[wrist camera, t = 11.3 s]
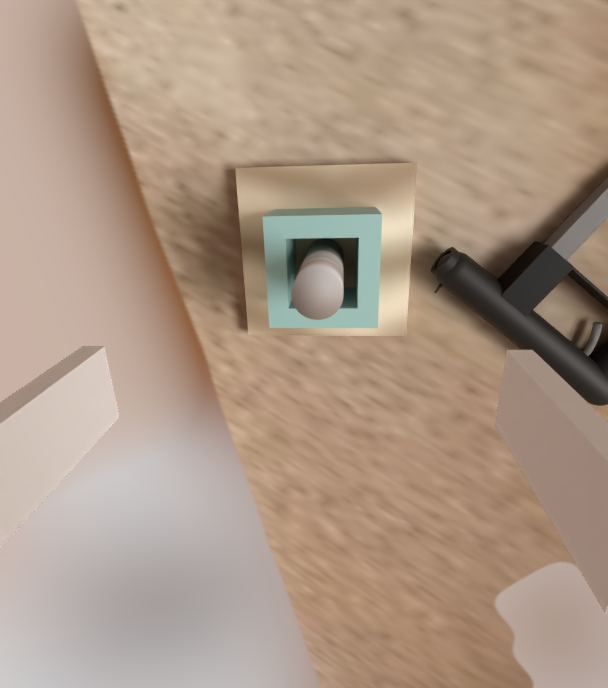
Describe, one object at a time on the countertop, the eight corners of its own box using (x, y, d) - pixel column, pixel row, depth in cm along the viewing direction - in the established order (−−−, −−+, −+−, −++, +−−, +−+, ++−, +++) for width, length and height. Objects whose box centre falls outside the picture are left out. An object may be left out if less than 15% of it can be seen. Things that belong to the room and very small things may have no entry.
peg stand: (238, 167, 35) (182, 166, 23) (414, 162, 34) (454, 158, 22) (250, 330, 40) (210, 400, 28) (404, 331, 39) (431, 404, 27)
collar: (275, 209, 35) (262, 216, 29) (375, 206, 34) (382, 214, 29) (280, 304, 38) (269, 327, 32) (372, 304, 37) (377, 328, 32)
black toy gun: (583, 105, 30) (423, 288, 34) (765, 281, 33) (596, 426, 38) (558, 113, 33) (415, 280, 38) (727, 273, 36) (575, 408, 41)
